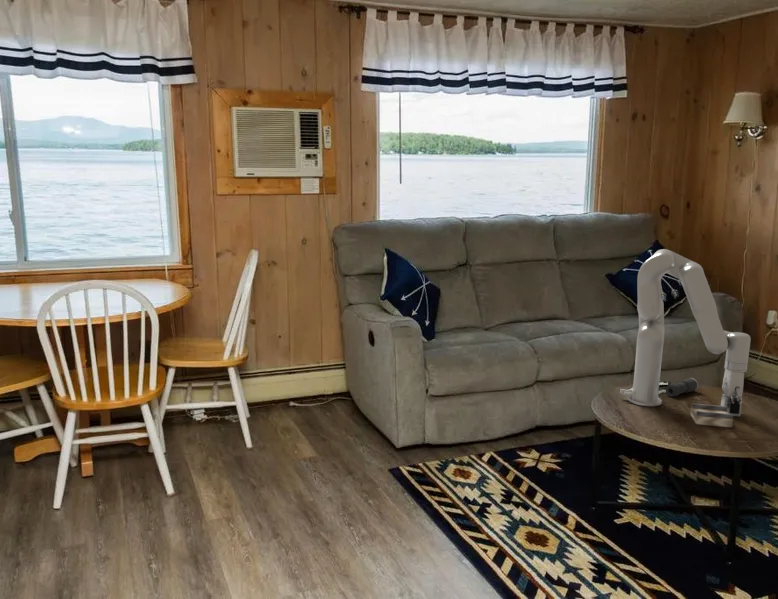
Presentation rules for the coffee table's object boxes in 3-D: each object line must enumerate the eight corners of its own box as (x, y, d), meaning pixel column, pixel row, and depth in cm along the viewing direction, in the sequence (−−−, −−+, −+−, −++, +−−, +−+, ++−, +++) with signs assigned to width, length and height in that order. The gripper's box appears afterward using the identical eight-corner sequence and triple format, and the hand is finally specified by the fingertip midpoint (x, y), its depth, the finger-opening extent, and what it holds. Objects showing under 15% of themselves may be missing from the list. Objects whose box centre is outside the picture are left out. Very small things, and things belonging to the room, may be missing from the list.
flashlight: (675, 399, 272) (676, 386, 271) (663, 395, 277) (664, 382, 276) (697, 392, 281) (698, 379, 280) (685, 388, 285) (686, 376, 284)
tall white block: (722, 415, 255) (725, 397, 254) (720, 410, 259) (722, 393, 258) (741, 416, 254) (743, 398, 252) (737, 412, 258) (739, 394, 257)
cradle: (696, 424, 245) (697, 412, 244) (690, 414, 255) (691, 403, 254) (732, 427, 243) (733, 415, 242) (724, 417, 252) (726, 405, 252)
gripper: (719, 358, 262) (714, 400, 265) (731, 371, 245) (725, 416, 249) (740, 359, 260) (735, 402, 264) (753, 373, 244) (748, 418, 247)
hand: (730, 408), depth 256 cm, fingers open, 9 cm apart
